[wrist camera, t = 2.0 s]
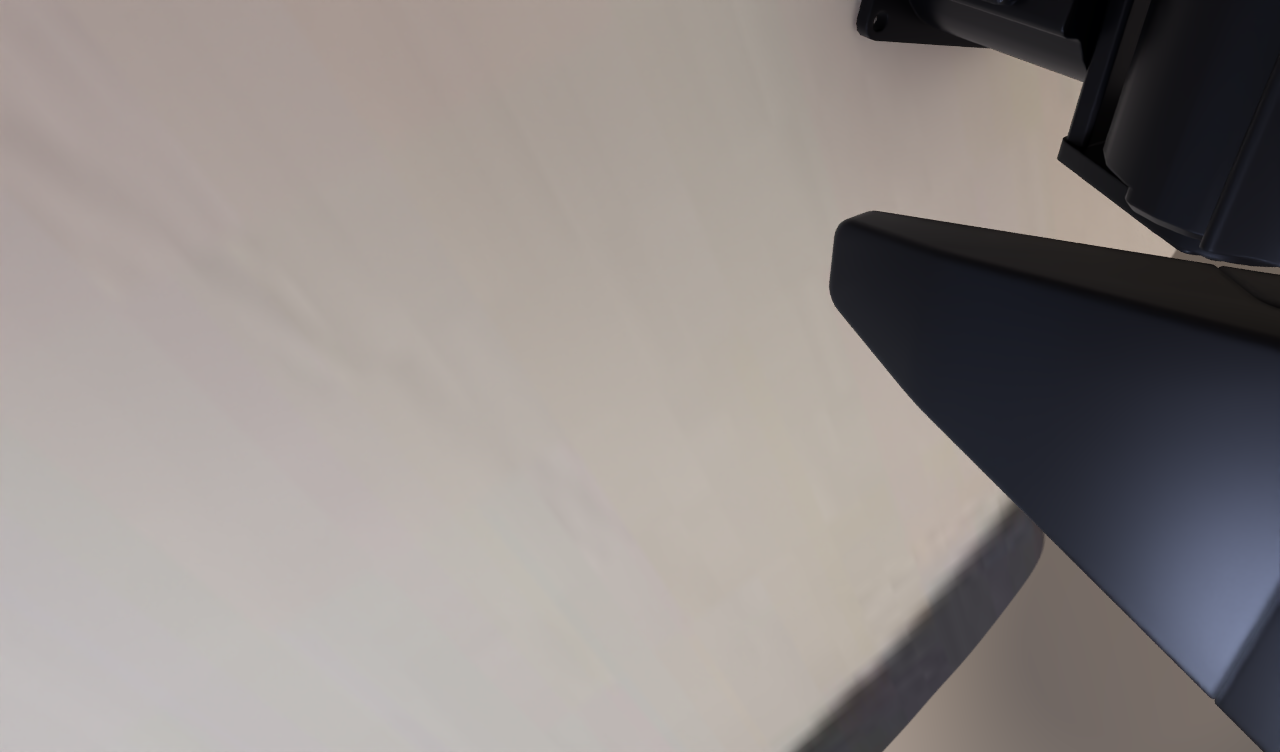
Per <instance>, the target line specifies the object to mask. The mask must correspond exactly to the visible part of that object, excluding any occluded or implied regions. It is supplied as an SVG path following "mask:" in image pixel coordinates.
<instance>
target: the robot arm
mask: <svg viewBox="0 0 1280 752" xmlns="http://www.w3.org/2000/svg"><path fill="white" fill-rule="evenodd" d="M876 16H877V20H876V22H875V24H874V20H875V18H876ZM856 25H857V31H858V32H859V34H860V35H862V36H864V37H867V38H869V39H872V40H875V41H888V42H902V43H917V44H932V45H947V46H962V47H977V48H991V49H994V50H996V51H999V52H1002V53H1005V54H1007V55H1010V56H1013V57H1016V58H1018V59H1021V60H1024V61H1027V62H1029V63H1032V64H1035V65H1038V66H1040V67H1043V68H1046V69H1049V70H1051V71H1054V72H1057V73H1060V74H1062V75H1065V76H1068V77H1071V78H1073V79H1076V80H1079V81H1082V82H1083V86H1082V89H1081V92H1080V96H1079V99H1078V103H1077V106H1076V109H1075V113H1074V116H1073V119H1072V123H1071V126H1070V129H1069V133H1068V136H1066V137H1064V138H1063V140H1062V144H1061V147H1060V150H1059V154H1058V157H1057V159H1058V160H1059V161H1060V162H1061V163H1063V164H1064V165H1065V166H1067V167H1068V168H1069V169H1071V170H1072V171H1073V172H1075V173H1076V174H1077V175H1078V176H1080V177H1081V178H1082V179H1083V180H1085V181H1086V182H1088V183H1089V184H1090V185H1092V186H1093V187H1094V188H1096V189H1097V190H1098V191H1100V192H1101V193H1102V194H1104V195H1105V196H1106V197H1107V198H1109V199H1110V200H1111V201H1113V202H1114V203H1115V204H1117V205H1118V206H1119V207H1121V208H1122V209H1123V210H1125V211H1126V212H1127V213H1129V214H1130V215H1131V216H1133V217H1134V218H1135V219H1136V220H1138V221H1139V222H1140V223H1142V224H1143V225H1144V226H1146V227H1147V228H1148V229H1150V230H1151V231H1152V232H1154V233H1155V234H1157V235H1158V236H1160V237H1161V238H1162V239H1164V240H1165V241H1166V242H1168V243H1169V244H1170V245H1172V246H1173V247H1174V248H1176V249H1177V250H1179V251H1181V252H1183V253H1186V254H1192V255H1201V256H1203V257H1205V258H1207V259H1210V260H1214V261H1225V262H1229V263H1234V264H1241V265H1248V266H1260V267H1280V0H862V2H861V6H860V9H859V13H858V16H857V23H856ZM829 290H830V295H831V298H832V301H833V303H834V305H835V307H836V308H837V310H838V311H839V312H840V313H841V314H842V316H843V317H844V318H845V319H846V321H847V322H848V323H849V324H850V325H851V327H852V328H853V329H854V330H855V332H856V333H857V334H858V335H859V336H860V338H861V339H862V340H863V341H864V343H865V344H866V345H867V346H868V347H869V349H870V350H871V351H872V352H873V354H874V355H875V356H876V357H877V358H878V360H879V361H880V362H881V363H882V364H883V366H884V367H885V368H886V369H887V371H888V372H889V373H890V374H891V375H892V377H893V378H894V379H895V380H896V382H897V383H898V384H899V385H900V386H901V388H902V389H903V390H904V391H905V392H906V393H907V395H908V396H909V397H910V398H911V399H912V400H913V402H914V403H915V404H916V405H917V406H918V407H919V408H920V409H921V410H922V411H923V412H924V413H925V414H926V415H927V416H928V417H929V418H930V419H931V420H932V421H933V422H934V423H935V424H936V425H937V426H938V427H939V428H940V429H941V430H942V431H943V432H944V433H945V434H946V435H947V436H948V437H949V438H950V439H951V440H952V441H953V442H954V443H955V444H956V445H957V446H958V447H959V448H960V449H961V450H962V451H963V452H964V453H965V454H966V455H967V456H968V457H969V458H970V459H971V460H972V461H973V462H974V463H975V464H976V465H977V466H978V467H979V468H980V469H981V470H982V471H983V472H984V473H985V474H986V475H987V476H988V477H989V478H990V479H991V480H992V481H993V482H994V483H995V484H996V485H997V486H998V487H999V488H1000V489H1001V490H1002V491H1003V492H1004V493H1005V494H1006V495H1007V496H1008V497H1009V498H1010V499H1011V500H1012V501H1013V502H1014V503H1015V504H1016V505H1017V506H1018V507H1019V508H1020V509H1021V510H1022V511H1023V512H1024V513H1025V514H1026V515H1027V516H1028V517H1029V518H1030V519H1031V520H1032V521H1033V522H1034V523H1035V524H1036V525H1037V526H1038V527H1039V528H1040V529H1041V530H1042V531H1043V532H1044V533H1045V534H1046V535H1047V536H1048V537H1049V538H1050V539H1051V540H1052V541H1053V542H1054V543H1055V544H1056V545H1057V546H1058V547H1059V548H1060V549H1061V550H1062V551H1063V552H1064V553H1065V554H1066V555H1067V556H1068V557H1069V558H1070V559H1071V560H1072V561H1073V562H1074V563H1076V565H1077V566H1078V567H1079V568H1080V569H1081V570H1082V571H1083V572H1084V573H1085V574H1087V576H1088V577H1089V578H1090V579H1091V580H1092V581H1093V582H1094V583H1095V584H1096V585H1097V586H1098V587H1099V588H1101V590H1102V591H1104V593H1106V595H1107V596H1109V598H1110V599H1112V601H1113V602H1114V603H1116V605H1118V606H1119V607H1120V608H1121V609H1122V610H1123V611H1124V612H1125V613H1126V614H1127V615H1128V616H1129V617H1130V618H1131V619H1132V620H1133V621H1134V622H1135V623H1136V624H1137V625H1138V626H1139V627H1140V628H1141V629H1142V630H1143V631H1144V632H1145V633H1146V634H1147V635H1148V636H1149V637H1150V638H1151V639H1152V640H1153V641H1154V642H1155V643H1156V644H1157V645H1158V646H1159V647H1160V648H1161V649H1162V650H1163V651H1164V652H1165V653H1166V654H1167V655H1168V656H1169V657H1170V658H1171V659H1172V660H1173V661H1174V662H1175V663H1176V664H1177V665H1178V666H1179V667H1180V668H1181V669H1182V670H1183V671H1184V672H1185V673H1186V674H1187V675H1188V676H1189V677H1190V678H1191V679H1192V680H1193V681H1194V682H1195V683H1196V684H1197V685H1198V686H1199V687H1200V688H1201V689H1202V690H1203V691H1204V692H1205V693H1206V694H1207V695H1208V696H1209V697H1210V698H1212V699H1215V704H1216V705H1217V706H1218V707H1219V708H1220V709H1221V710H1222V711H1223V712H1224V713H1225V714H1226V715H1227V716H1228V717H1229V718H1230V719H1231V720H1232V721H1233V722H1234V723H1235V724H1236V725H1237V726H1238V727H1239V728H1240V729H1241V730H1242V731H1243V732H1244V733H1245V734H1246V735H1247V736H1248V737H1249V738H1250V739H1251V740H1252V741H1253V742H1254V743H1255V744H1256V745H1257V746H1258V747H1259V748H1260V749H1261V750H1262V751H1263V752H1280V275H1278V274H1271V273H1264V272H1257V271H1251V270H1245V269H1238V268H1232V267H1226V266H1221V267H1219V268H1217V267H1216V266H1215V265H1212V264H1207V263H1200V262H1194V261H1188V260H1181V259H1175V258H1169V257H1163V256H1156V255H1150V254H1144V253H1137V252H1131V251H1125V250H1119V249H1112V248H1106V247H1100V246H1094V245H1087V244H1081V243H1075V242H1068V241H1062V240H1056V239H1050V238H1043V237H1037V236H1031V235H1025V234H1018V233H1012V232H1006V231H999V230H993V229H987V228H981V227H974V226H968V225H962V224H956V223H949V222H943V221H937V220H930V219H924V218H918V217H912V216H905V215H899V214H893V213H887V212H880V211H869V212H865V213H862V214H860V215H857V216H854V217H852V218H849V219H846V220H844V221H843V222H842V223H840V224H839V226H838V228H837V230H836V231H835V236H834V244H833V253H832V263H831V272H830V281H829Z"/></svg>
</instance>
